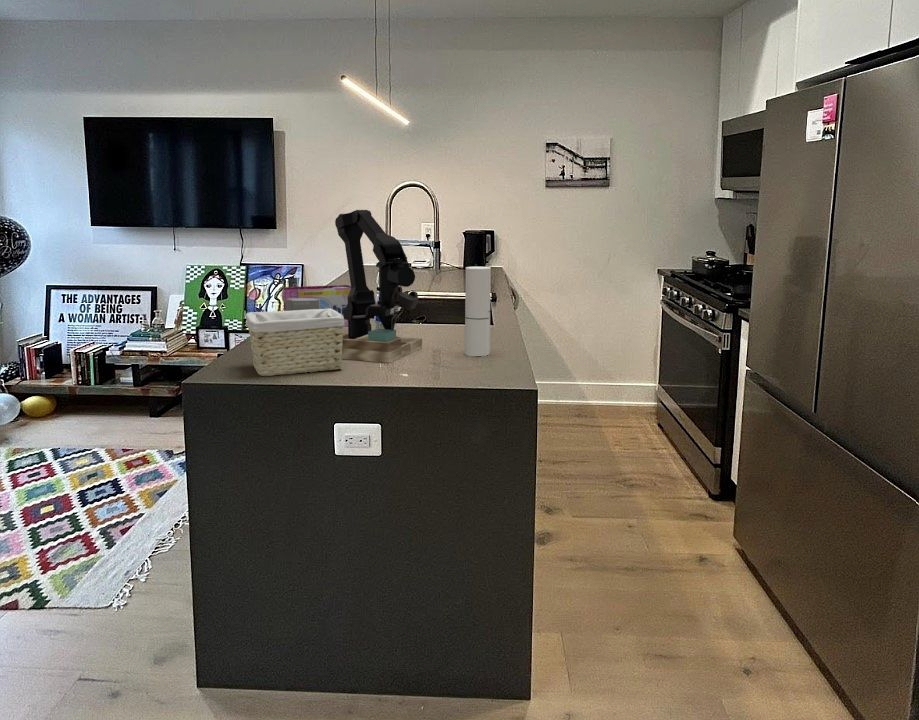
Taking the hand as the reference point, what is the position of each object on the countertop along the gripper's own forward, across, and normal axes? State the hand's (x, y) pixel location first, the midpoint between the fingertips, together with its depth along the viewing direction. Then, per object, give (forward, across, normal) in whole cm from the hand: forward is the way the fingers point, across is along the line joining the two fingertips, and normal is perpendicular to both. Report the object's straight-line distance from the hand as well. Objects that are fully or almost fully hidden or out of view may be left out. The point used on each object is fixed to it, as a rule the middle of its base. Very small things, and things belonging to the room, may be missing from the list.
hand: (389, 335), depth 243 cm
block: (+1, -4, 0) cm, 4 cm away
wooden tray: (+4, -7, 0) cm, 8 cm away
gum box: (+4, +26, +39) cm, 47 cm away
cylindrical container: (+4, +2, -27) cm, 27 cm away
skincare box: (+4, -15, +20) cm, 26 cm away
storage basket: (+4, -34, +12) cm, 36 cm away
